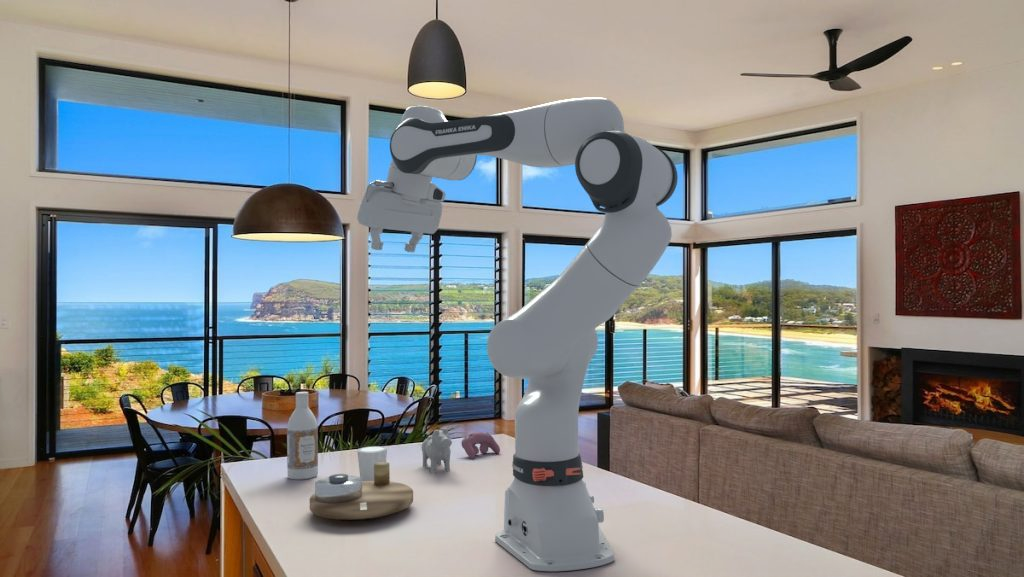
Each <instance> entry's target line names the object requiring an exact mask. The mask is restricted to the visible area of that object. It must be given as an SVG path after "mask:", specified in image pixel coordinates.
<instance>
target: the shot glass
mask: <svg viewBox="0 0 1024 577" xmlns="http://www.w3.org/2000/svg"><path fill="white" fill-rule="evenodd" d="M356 452H357V459H358V460H357V462H358V469H359V470H358V471H359V477H360V478H361V479H362V481H374V464H375V463H379V462H387V457H388V456H387V454H388V447H386V446H381V445H372V446H365V447H359V448H358V449H357V451H356Z"/></svg>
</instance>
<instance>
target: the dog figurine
mask: <svg viewBox="0 0 1024 577" xmlns="http://www.w3.org/2000/svg"><path fill="white" fill-rule="evenodd" d="M432 432H433V433H432V435H428V436H427V437H426V438H425V439H424V440H423V442H422V443H421V452H422V467H423V468H428V467H429V465H428V459H429V460H430V473H431V474H435V473H436V472H437V466H442V461H443V464H444V467H443V468H444V471H445V472H450V471H451V467H450V462H451V461H450V460H451V452H452V451H451V446H452V443H453V441H452V440H451V438H450V434H449V429H448V427H445V428H444V427H443V428H442V429H435V430H433V431H432Z"/></svg>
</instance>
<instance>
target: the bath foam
mask: <svg viewBox="0 0 1024 577" xmlns="http://www.w3.org/2000/svg"><path fill="white" fill-rule="evenodd" d="M309 398H310V397H309V392H308V391H298V392H295V408H294V410H293V412H292V413H291V415H290V416H289V418H288V422H287V428H286V445H287V446H286V450H287V451H286V452H287V453H286V455H287V457H286V458H287V459H286V460H287V461H286V463H287V466H286V468H287V478H288V479H290V480H295V481H297V480H298V481H301V480H309V479H313V478H316V477H317V476H318V473H319V455H318V454H319V449H318V448H319V447H318V445H319V443H318V442H319V441H318V438H319V437H318V436H319V434H318V432H319V431H318V429H319V428H318V422H317V418H316V416H315V415H314V412H313V411H312V410H311V409H310V407H309V404H310V403H309V402H310V401H309Z"/></svg>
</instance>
